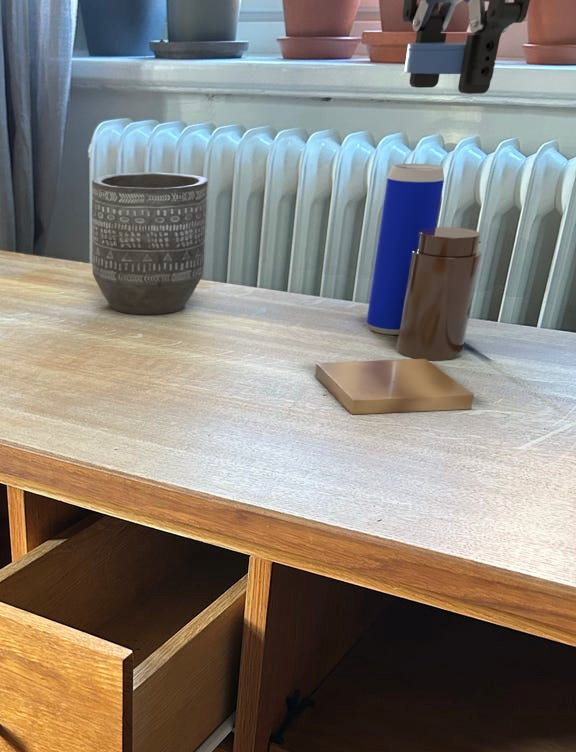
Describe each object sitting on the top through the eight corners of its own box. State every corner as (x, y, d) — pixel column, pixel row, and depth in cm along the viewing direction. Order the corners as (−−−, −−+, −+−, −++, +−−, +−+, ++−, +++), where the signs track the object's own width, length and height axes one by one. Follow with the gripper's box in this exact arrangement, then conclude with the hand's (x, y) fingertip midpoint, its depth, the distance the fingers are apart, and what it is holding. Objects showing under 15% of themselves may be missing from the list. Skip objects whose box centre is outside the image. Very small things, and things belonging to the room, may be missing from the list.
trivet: (422, 371, 86) (425, 358, 85) (471, 409, 77) (474, 394, 77) (314, 376, 85) (316, 362, 84) (351, 414, 77) (353, 400, 76)
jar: (445, 341, 94) (468, 225, 88) (472, 359, 89) (497, 237, 83) (387, 343, 93) (405, 227, 88) (410, 361, 88) (431, 239, 83)
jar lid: (402, 74, 72) (406, 45, 71) (406, 69, 77) (409, 42, 76) (493, 74, 70) (498, 44, 69) (490, 69, 75) (495, 41, 74)
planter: (70, 304, 107) (67, 179, 100) (148, 287, 114) (150, 168, 107) (145, 325, 99) (148, 191, 92) (224, 305, 106) (232, 179, 99)
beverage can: (423, 326, 98) (452, 165, 90) (409, 338, 95) (438, 171, 86) (374, 320, 101) (398, 162, 92) (358, 331, 97) (382, 168, 89)
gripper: (393, -177, 70) (359, 85, 79) (511, -215, 58) (455, 97, 68) (483, -172, 72) (439, 84, 81) (616, -209, 60) (547, 95, 69)
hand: (447, 89), depth 74 cm, fingers closed on jar lid, 6 cm apart
